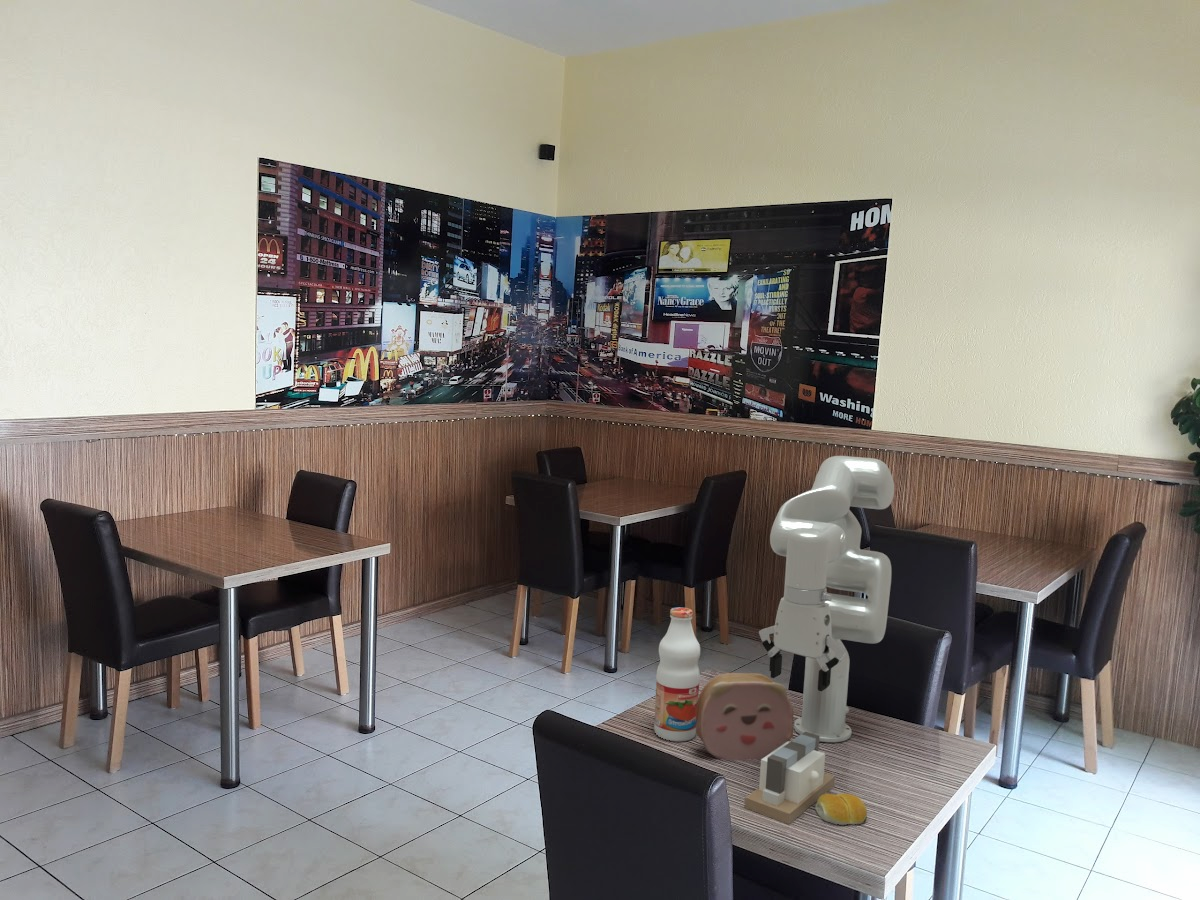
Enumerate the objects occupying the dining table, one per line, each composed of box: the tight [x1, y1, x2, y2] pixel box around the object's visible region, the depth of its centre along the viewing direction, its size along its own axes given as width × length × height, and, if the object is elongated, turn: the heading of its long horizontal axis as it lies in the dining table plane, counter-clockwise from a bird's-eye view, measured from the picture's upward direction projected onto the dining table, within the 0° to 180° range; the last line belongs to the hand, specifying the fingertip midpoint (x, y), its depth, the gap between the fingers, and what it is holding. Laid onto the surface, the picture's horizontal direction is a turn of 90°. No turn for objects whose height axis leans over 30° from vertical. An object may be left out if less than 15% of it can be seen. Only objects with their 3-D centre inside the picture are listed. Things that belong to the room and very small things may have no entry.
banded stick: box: [766, 732, 820, 794], centre depth 177 cm, size 16×3×6 cm, turn 142°
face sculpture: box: [696, 672, 795, 761], centre depth 195 cm, size 20×7×17 cm, turn 96°
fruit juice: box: [653, 606, 701, 742], centre depth 203 cm, size 9×9×28 cm
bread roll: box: [815, 793, 868, 826], centre depth 171 cm, size 8×9×4 cm
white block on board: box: [744, 741, 836, 825], centre depth 177 cm, size 20×10×8 cm, turn 142°
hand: (798, 682), depth 176 cm, fingers open, 9 cm apart
